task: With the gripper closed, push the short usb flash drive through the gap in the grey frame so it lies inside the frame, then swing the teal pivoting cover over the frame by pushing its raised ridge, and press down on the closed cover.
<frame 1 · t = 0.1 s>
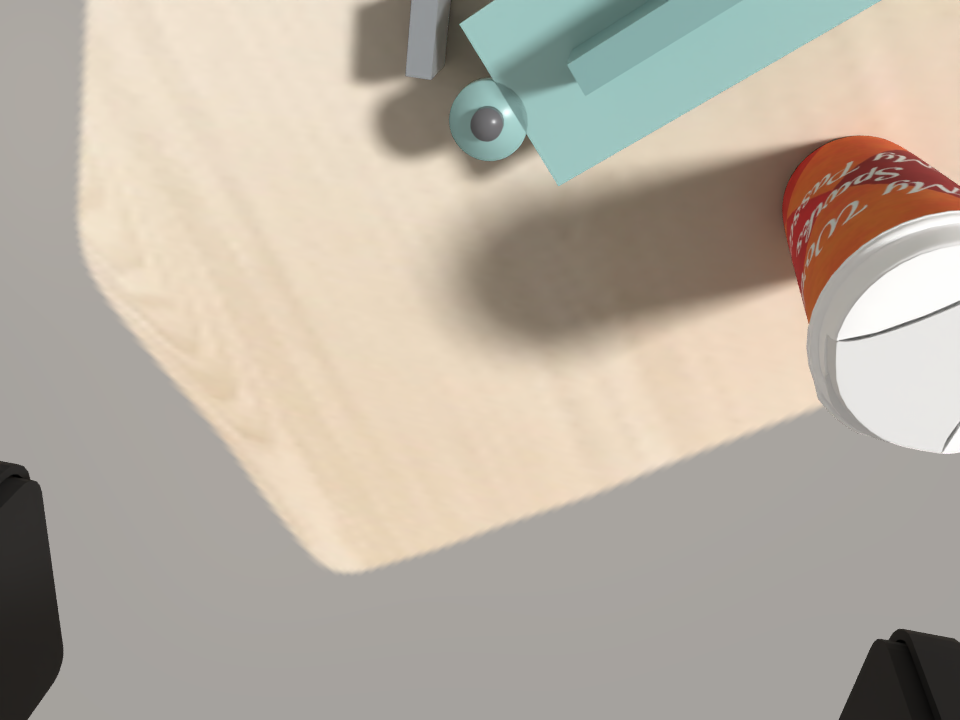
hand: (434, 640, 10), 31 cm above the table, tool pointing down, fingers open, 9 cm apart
paper cup: (848, 200, 38), on the table
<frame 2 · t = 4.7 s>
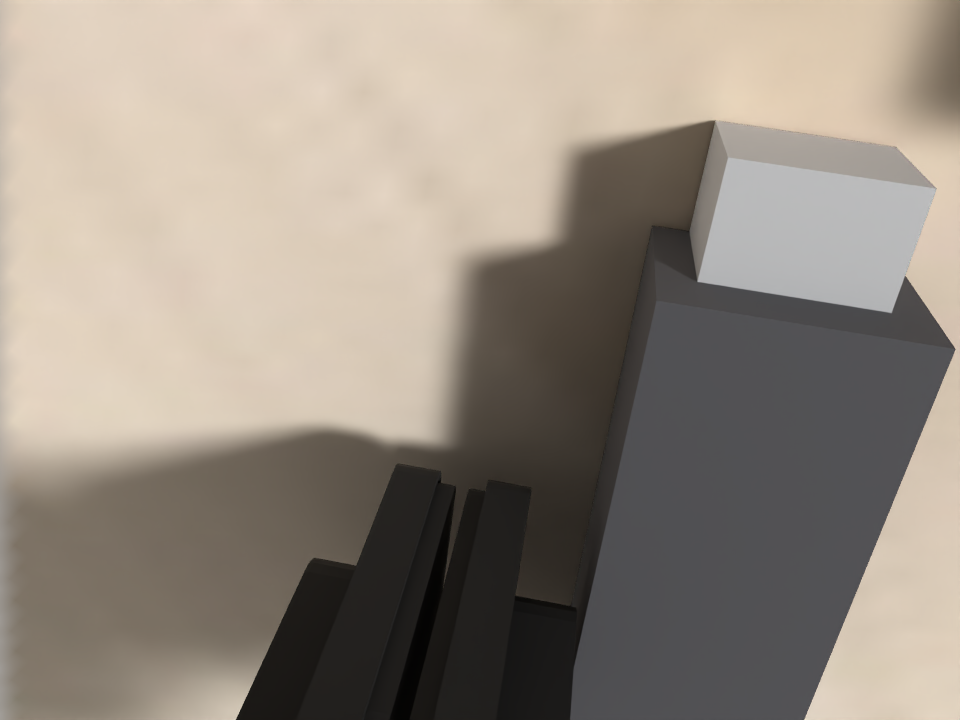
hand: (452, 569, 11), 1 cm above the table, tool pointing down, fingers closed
usb flash drive: (682, 566, 12), on the table, touching gripper
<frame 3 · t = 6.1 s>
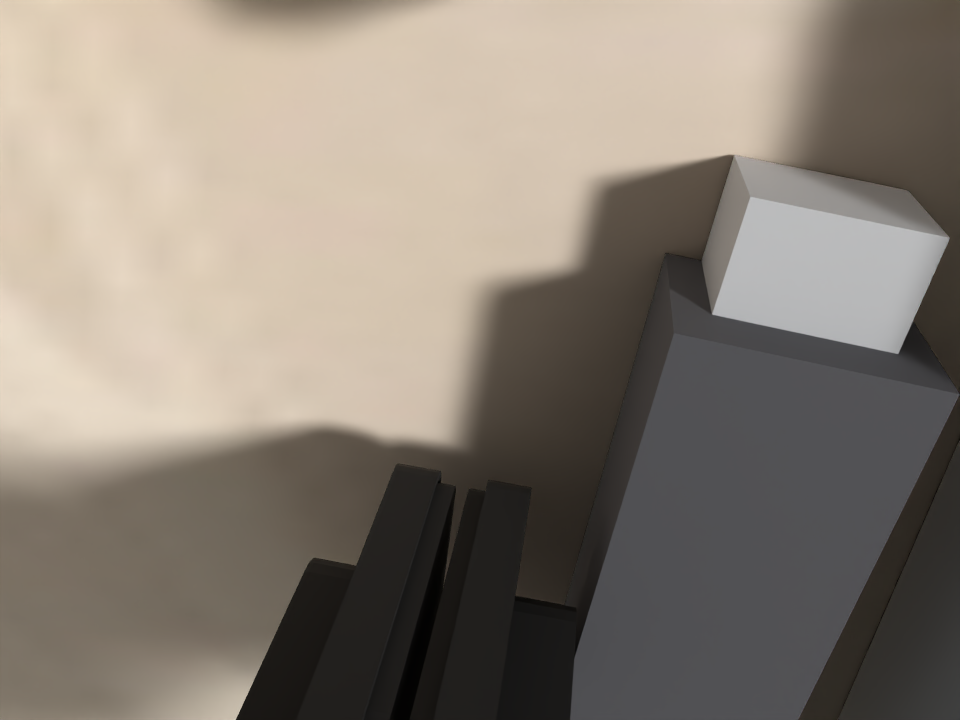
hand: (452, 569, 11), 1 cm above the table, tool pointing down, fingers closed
usb flash drive: (672, 583, 12), on the table, touching gripper
grey frame: (696, 561, 12), on the table
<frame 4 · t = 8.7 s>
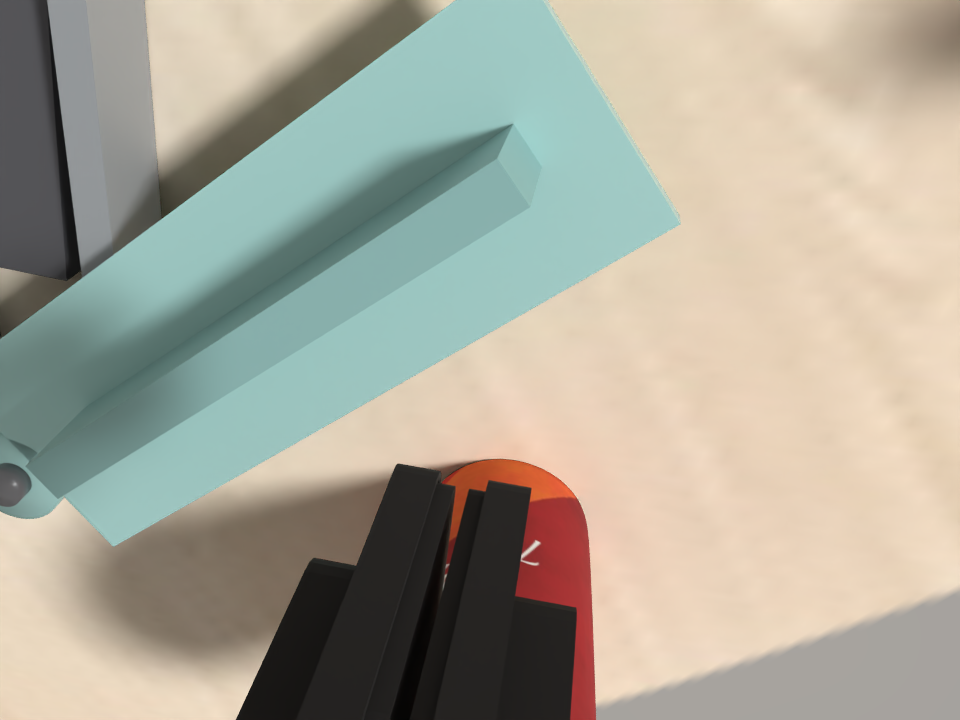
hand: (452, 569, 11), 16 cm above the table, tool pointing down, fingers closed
usb flash drive: (50, 105, 27), on the table
paper cup: (505, 523, 32), on the table
grey frame: (36, 88, 27), on the table
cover: (224, 350, 24), point 5 cm above the table, hinge at -50.0°
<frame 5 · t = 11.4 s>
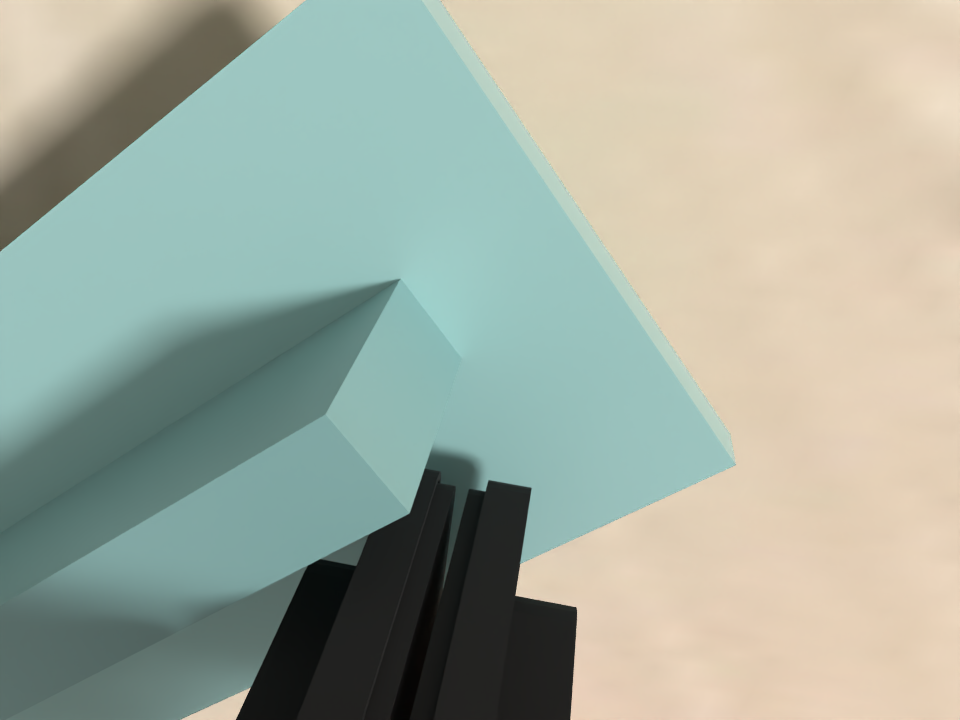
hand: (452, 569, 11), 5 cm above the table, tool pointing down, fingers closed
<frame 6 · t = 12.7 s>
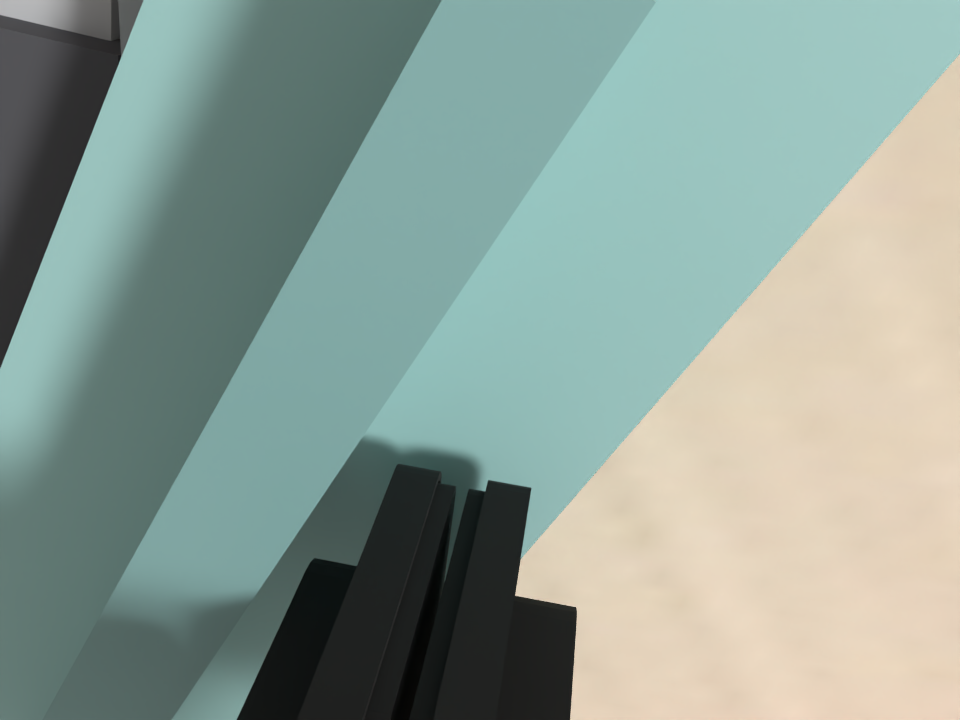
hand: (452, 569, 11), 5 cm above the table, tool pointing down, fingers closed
usb flash drive: (100, 283, 16), on the table
grey frame: (78, 257, 16), on the table
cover: (175, 607, 12), point 5 cm above the table, hinge at -23.9°, touching gripper
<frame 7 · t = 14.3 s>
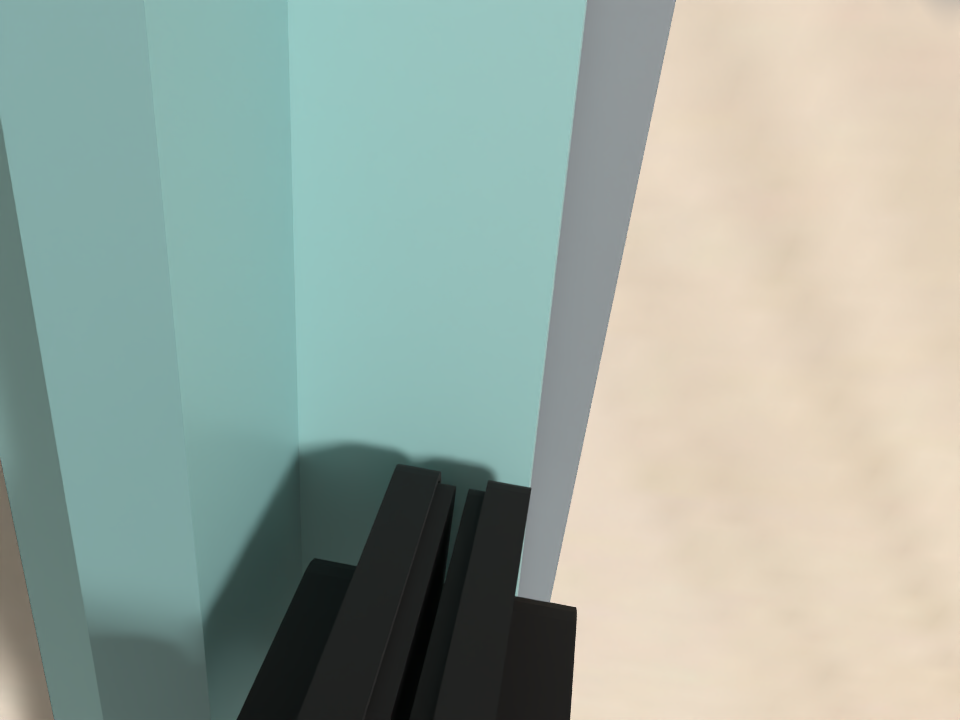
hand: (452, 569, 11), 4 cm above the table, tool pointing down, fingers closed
grey frame: (373, 342, 15), on the table
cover: (225, 609, 11), point 5 cm above the table, hinge at 3.0°, touching gripper
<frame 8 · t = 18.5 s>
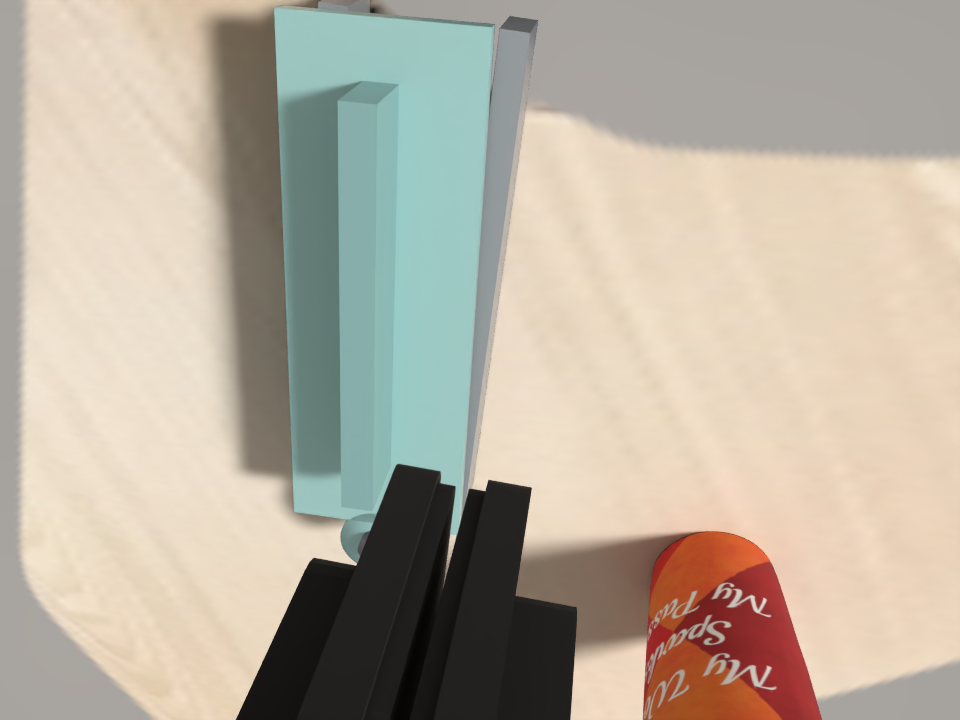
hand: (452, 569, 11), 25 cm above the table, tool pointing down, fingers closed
paper cup: (711, 577, 42), on the table
grey frame: (415, 267, 37), on the table
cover: (370, 350, 33), point 5 cm above the table, hinge at 3.1°
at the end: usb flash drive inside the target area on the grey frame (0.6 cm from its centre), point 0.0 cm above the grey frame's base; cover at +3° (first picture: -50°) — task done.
